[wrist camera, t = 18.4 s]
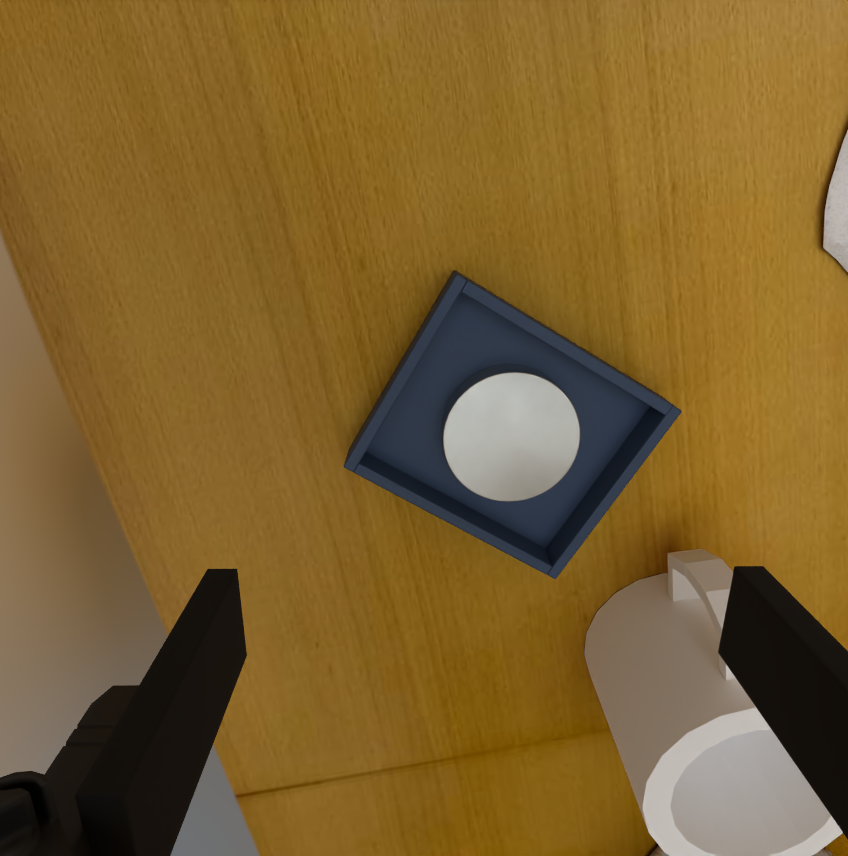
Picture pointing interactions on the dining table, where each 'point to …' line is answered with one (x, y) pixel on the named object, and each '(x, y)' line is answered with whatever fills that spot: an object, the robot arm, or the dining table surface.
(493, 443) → the lid
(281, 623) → the dining table surface
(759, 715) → the mug
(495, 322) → the tray
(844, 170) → the cloth
